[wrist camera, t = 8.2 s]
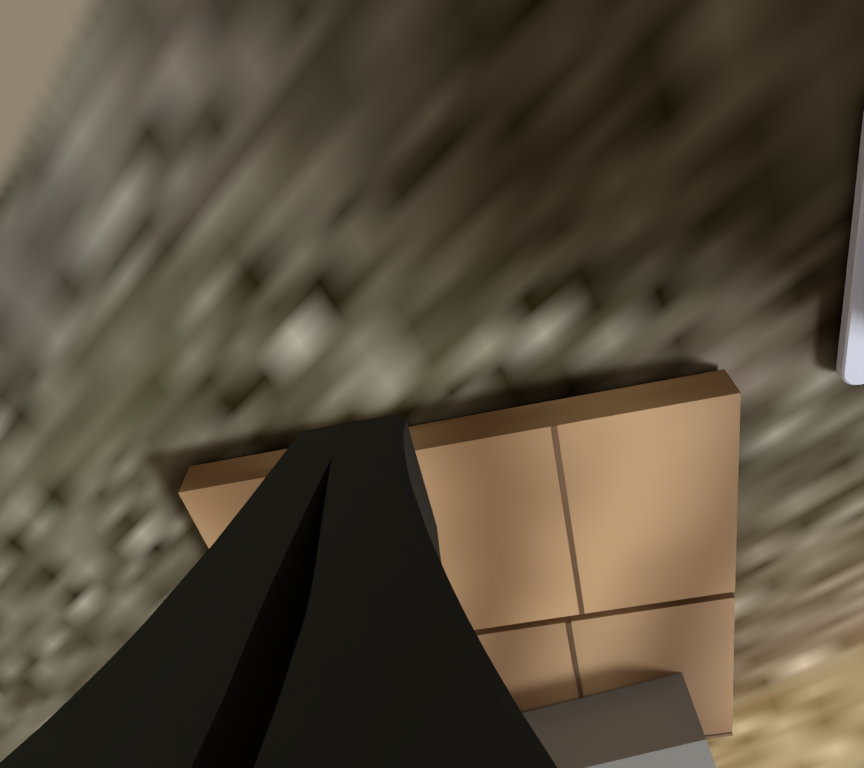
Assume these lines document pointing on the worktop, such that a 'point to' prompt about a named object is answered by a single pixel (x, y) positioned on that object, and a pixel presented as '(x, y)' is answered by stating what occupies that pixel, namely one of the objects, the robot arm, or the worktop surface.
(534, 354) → the worktop surface
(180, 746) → the robot arm
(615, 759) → the block
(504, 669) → the laid strip
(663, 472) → the board
